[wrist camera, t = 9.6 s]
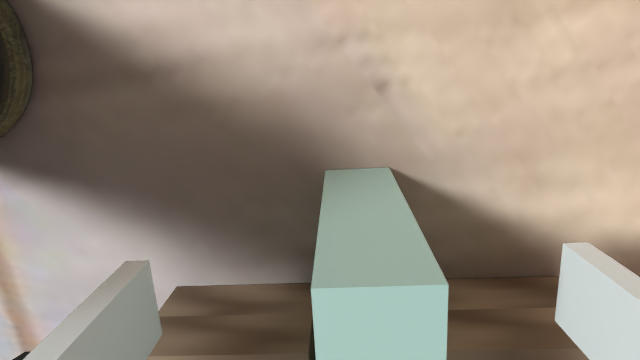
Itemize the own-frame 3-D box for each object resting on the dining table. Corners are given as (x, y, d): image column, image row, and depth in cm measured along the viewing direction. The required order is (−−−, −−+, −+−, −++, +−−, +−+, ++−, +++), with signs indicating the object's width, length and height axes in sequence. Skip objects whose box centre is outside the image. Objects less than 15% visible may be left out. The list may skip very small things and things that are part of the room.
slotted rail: (185, 339, 21) (139, 421, 16) (176, 286, 20) (125, 356, 15) (550, 332, 20) (619, 417, 15) (556, 276, 19) (631, 347, 14)
